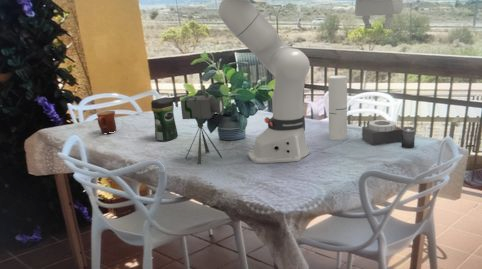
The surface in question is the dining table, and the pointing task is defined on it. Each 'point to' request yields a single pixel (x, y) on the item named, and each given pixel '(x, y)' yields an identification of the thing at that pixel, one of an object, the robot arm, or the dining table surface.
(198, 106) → the camera
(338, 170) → the dining table surface
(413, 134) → the lens
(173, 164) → the dining table surface
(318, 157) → the dining table surface
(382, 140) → the camera body
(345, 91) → the cylindrical container
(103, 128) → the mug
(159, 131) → the coffee jar
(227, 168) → the dining table surface
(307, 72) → the robot arm
